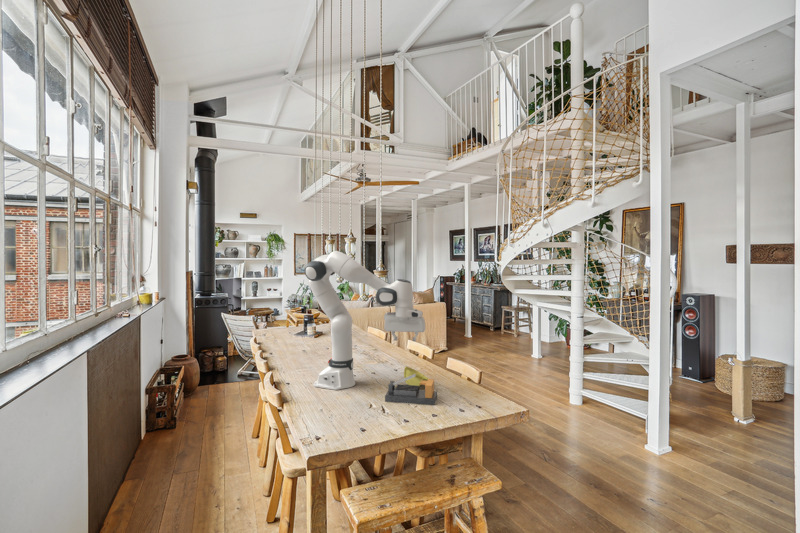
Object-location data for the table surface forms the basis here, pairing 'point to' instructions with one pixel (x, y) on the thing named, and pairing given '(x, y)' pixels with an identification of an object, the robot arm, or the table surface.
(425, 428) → the table surface
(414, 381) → the plastic component
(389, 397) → the heatsink
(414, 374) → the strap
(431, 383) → the clip
